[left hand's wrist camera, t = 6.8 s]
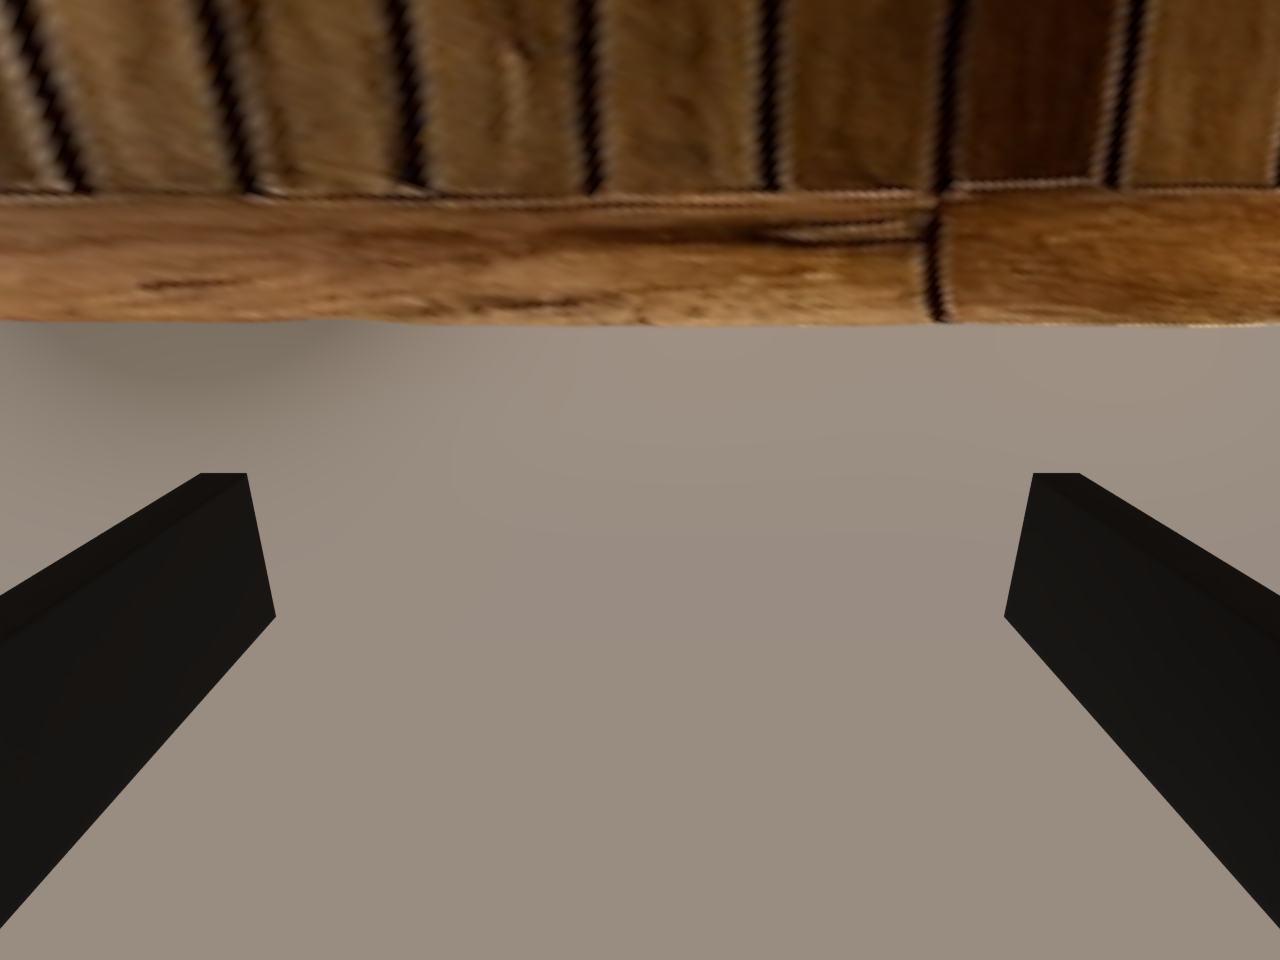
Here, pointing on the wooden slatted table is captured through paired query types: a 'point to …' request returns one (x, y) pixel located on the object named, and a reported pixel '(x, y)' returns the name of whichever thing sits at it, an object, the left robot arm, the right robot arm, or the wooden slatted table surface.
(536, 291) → the wooden slatted table surface
